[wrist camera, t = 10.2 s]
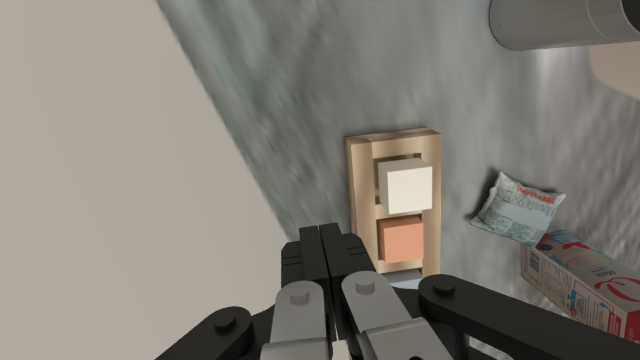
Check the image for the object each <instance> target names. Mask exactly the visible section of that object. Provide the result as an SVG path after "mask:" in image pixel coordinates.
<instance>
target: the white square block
mask: <svg viewBox="0 0 640 360" xmlns="http://www.w3.org/2000/svg"><path fill="white" fill-rule="evenodd" d="M378 179H379V200H380V203H381V204H382V205H383V207H384V208H385V210H386V211H387V212H388V214H396V213H403V212H411V211H418V210H425V209H432V166H431V165H429V164H427V163H426V162H424V161H423V160H421V159H420V158H412V159H404V160H396V161H388V162H380V163H378Z"/></svg>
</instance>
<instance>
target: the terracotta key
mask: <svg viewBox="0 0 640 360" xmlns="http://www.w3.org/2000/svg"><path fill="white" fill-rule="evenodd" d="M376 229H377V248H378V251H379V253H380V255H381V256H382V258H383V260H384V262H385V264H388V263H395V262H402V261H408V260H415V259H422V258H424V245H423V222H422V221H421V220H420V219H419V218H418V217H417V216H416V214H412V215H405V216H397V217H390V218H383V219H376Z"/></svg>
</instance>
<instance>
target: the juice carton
mask: <svg viewBox="0 0 640 360" xmlns="http://www.w3.org/2000/svg"><path fill="white" fill-rule="evenodd" d="M563 268H564V269H563ZM566 270H567V271H566ZM573 275H574V276H573ZM521 276H523V277H524V278H525V279H526V280H527V281H528V282H530V283H531V284H532V285H533V286H534V287H535V288H537V289H538V290H539V291H540V292H541V293H542V294H544V295H545V296H546V297H547V298H548V299H549V300H551V301H552V302H553V303H554V304H555V305H556V306H558V307H559V308H560V309H561V310H562V311H563V312H565V313H566V314H567V315H568V316H569V317H570V318H572V319H573V320H575V321H578V322H580V323H583V324H586V325H589V326H591V327H594V328H597V329H600V330H602V331H605V332H608V333H611V334H613V335H616V336H619V337H622V338H624V339H627V340H630V341H633V342H635V343H638V344H640V273H638V272H636V271H634V270H632V269H631V268H629V267H627V266H625V265H624V264H622V263H620V262H618V261H617V260H615V259H613V258H611V257H610V256H608V255H606V254H604V253H603V252H601V251H599V250H597V249H596V248H594V247H592V246H590V245H589V244H587V243H585V242H583V241H582V240H580V239H578V238H576V237H574V236H573V235H571V234H569V233H567V232H566V231H564V230H561V231H556V232H552V233H547V234H544V235H543V236H542V238H541V239H540V241H539V242H538V243H537V245H536V247H535V248H531V247H528V246H527V245H525V244H524V243H523V242H522V262H521ZM576 277H577V278H576ZM583 282H584V283H583Z"/></svg>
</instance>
